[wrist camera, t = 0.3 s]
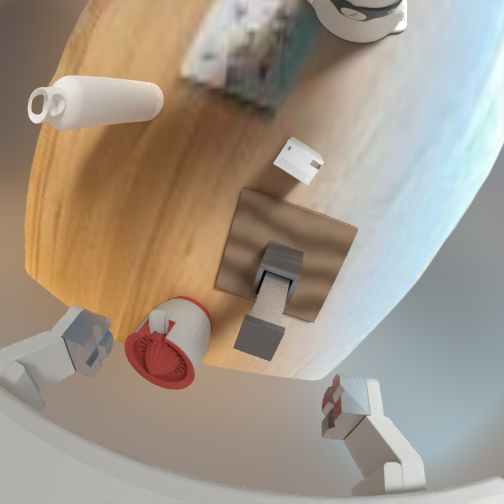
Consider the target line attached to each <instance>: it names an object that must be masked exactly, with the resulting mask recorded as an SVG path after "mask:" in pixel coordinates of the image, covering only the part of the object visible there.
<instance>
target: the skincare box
mask: <svg viewBox="0 0 504 504" xmlns="http://www.w3.org/2000/svg"><path fill="white" fill-rule="evenodd" d="M273 164H274V165H276V166H277V167H279V168H281V169H282V170H284V171H286V172H287V173H289V174H290V175H292V176H293V177H295V178H296V179H298V180H300V181H301V182H303V183H304V184H306V185H307V186H309V184H310V183H311V181H312V180H313V178H314V177H315V176H316V174H317V173H318V171H319V170H320V168H321V167H322V166H323V164H324V163H323V160H322V158H321V155H320V154H319V153H317V152H316V151H314V150H313V149H311V148H310V147H308V146H307V145H305V144H304V143H302V142H301V141H299V140H298V139H296V138H295V137H291V138H290V139H289V140H288V141H287V142H286V144H285V145H284V147H283V149H282V150H281V152H280V153H279V155H278V156H277V158H276V159H275V161H274V162H273Z"/></svg>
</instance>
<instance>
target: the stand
mask: <svg viewBox="0 0 504 504" xmlns="http://www.w3.org/2000/svg"><path fill="white" fill-rule="evenodd" d="M357 231H358V229H357V227H354V226H352V225H349V224H347V223H344V222H342V221H339V220H336V219H334V218H331V217H329V216H326V215H323V214H321V213H318V212H315V211H312V210H310V209H307V208H304V207H301V206H299V205H296V204H293V203H290V202H288V201H285V200H282V199H279V198H276V197H273V196H270V195H268V194H265V193H262V192H259V191H256V190H253V189H250V188H247V187H244V188H243V189H242V193H241V196H240V200H239V203H238V207H237V210H236V214H235V217H234V221H233V224H232V228H231V231H230V235H229V239H228V242H227V246H226V249H225V253H224V257H223V260H222V264H221V268H220V271H219V275H218V279H217V282H216V286H215V287H216V288H218V289H221V290H224V291H226V292H229V293H232V294H234V295H237V296H240V297H242V298H245V299H248V300H251V301H253V302H256V299H257V296H258V294H259V291H260V288H261V286H262V283H263V280H264V278H265V275H266V272H267V271H270V272H272V273H275V274H278V275H281V276H283V277H286V278H289V279H290V283H289V287H288V292H287V297H286V301H285V306H284V310H283V312H284V313H287V314H290V315H293V316H296V317H298V318H301V319H304V320H307V321H310V322H313V323H314V321H315V319H316V317H317V315H318V313H319V311H320V309H321V308H322V306H323V304H324V302H325V300H326V298H327V296H328V294H329V291H330V289H331V287H332V285H333V283H334V281H335V279H336V277H337V275H338V273H339V271H340V269H341V267H342V264H343V262H344V260H345V258H346V256H347V254H348V251H349V249H350V247H351V245H352V243H353V240H354V238H355V236H356V233H357Z"/></svg>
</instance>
